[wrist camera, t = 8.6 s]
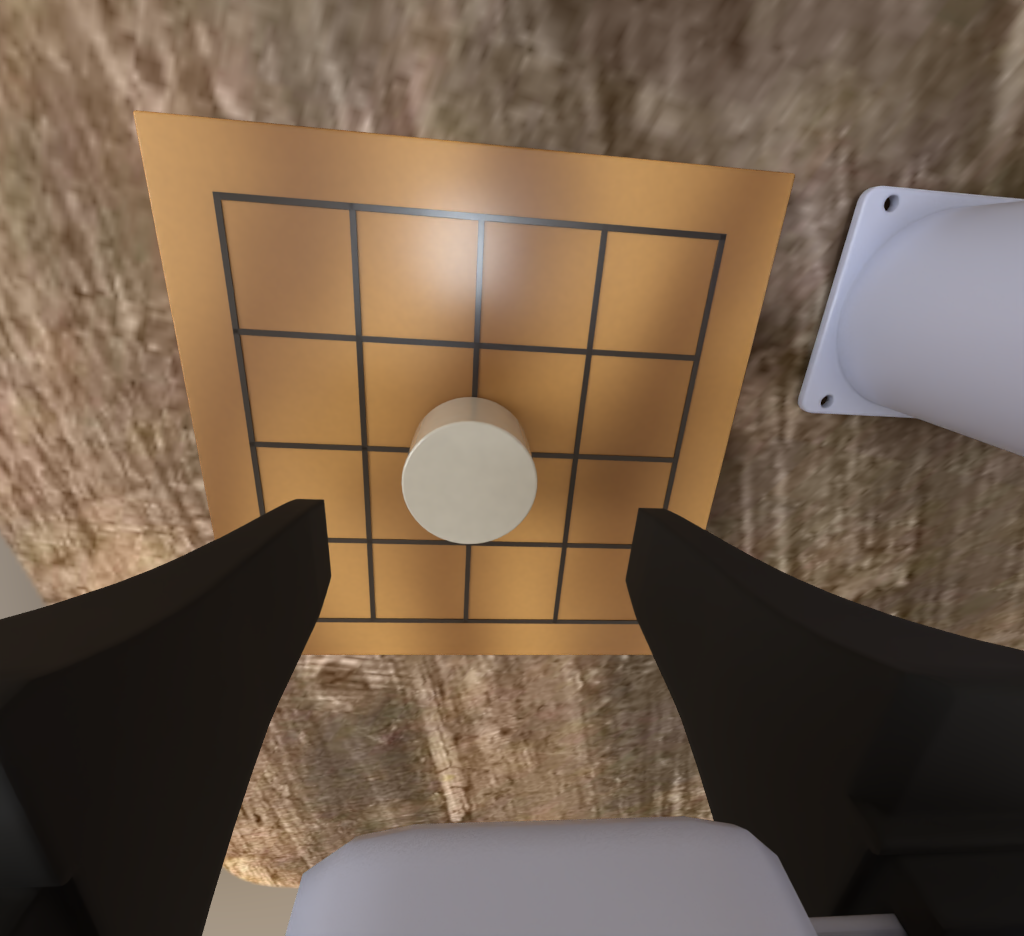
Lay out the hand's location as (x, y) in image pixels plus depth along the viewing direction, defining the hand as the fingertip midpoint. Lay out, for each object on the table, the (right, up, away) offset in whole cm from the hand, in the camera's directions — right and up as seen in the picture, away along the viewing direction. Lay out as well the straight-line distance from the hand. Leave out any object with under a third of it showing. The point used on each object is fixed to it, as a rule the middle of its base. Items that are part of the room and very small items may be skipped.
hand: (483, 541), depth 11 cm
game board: (-1, +3, +8) cm, 9 cm away
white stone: (-1, +2, +7) cm, 8 cm away
